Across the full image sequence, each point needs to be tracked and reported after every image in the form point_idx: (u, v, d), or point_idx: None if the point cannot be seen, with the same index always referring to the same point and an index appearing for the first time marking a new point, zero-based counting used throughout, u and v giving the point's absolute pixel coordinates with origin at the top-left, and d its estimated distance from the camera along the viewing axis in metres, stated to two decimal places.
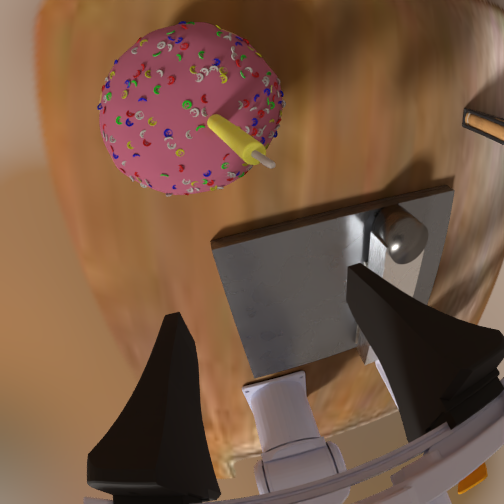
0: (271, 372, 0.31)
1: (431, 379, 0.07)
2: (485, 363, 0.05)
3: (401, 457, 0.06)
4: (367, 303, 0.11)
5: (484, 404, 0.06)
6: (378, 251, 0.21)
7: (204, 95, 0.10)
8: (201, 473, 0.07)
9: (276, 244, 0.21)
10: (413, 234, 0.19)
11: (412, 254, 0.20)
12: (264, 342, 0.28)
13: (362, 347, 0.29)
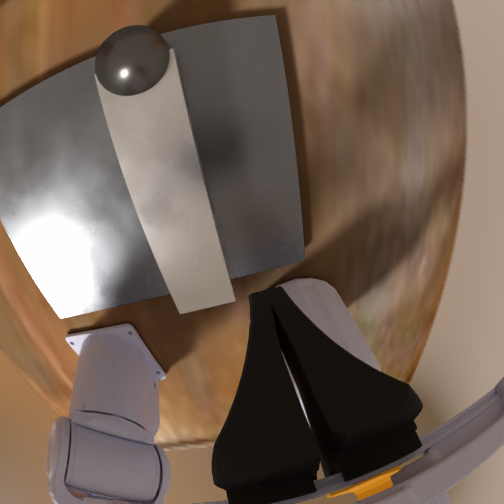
0: (75, 312, 0.22)
1: (321, 427, 0.07)
2: (371, 427, 0.05)
3: (401, 457, 0.06)
4: (280, 331, 0.10)
5: (389, 461, 0.06)
6: None
7: None
8: None
9: (10, 114, 0.12)
10: (129, 43, 0.10)
11: (142, 77, 0.11)
12: (41, 258, 0.18)
13: None
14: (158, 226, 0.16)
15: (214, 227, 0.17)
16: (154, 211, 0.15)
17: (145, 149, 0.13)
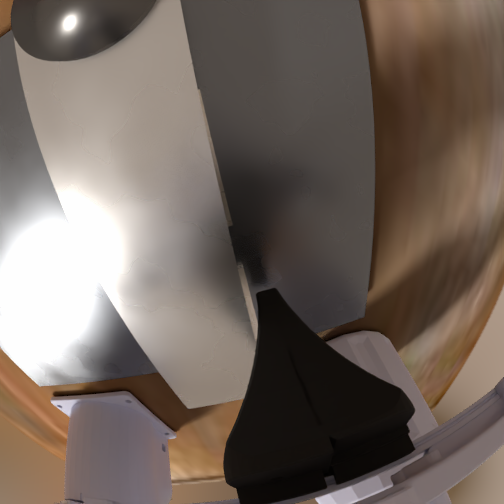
0: (55, 382, 0.15)
1: None
2: (361, 431, 0.05)
3: (401, 457, 0.06)
4: None
5: (381, 465, 0.06)
6: None
7: None
8: None
9: None
10: None
11: (100, 16, 0.04)
12: None
13: None
14: (145, 312, 0.09)
15: (246, 312, 0.09)
16: (136, 290, 0.08)
17: (108, 174, 0.06)
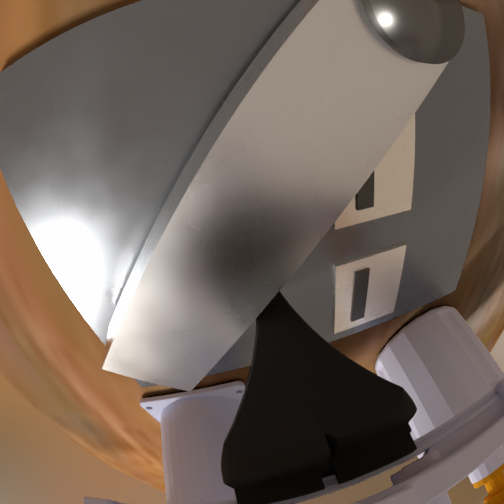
0: None
1: None
2: (364, 430, 0.05)
3: (401, 457, 0.06)
4: None
5: (383, 464, 0.06)
6: None
7: None
8: None
9: (77, 51, 0.06)
10: None
11: (417, 35, 0.05)
12: None
13: (116, 318, 0.10)
14: (194, 243, 0.08)
15: (267, 302, 0.09)
16: (214, 216, 0.07)
17: (313, 111, 0.06)
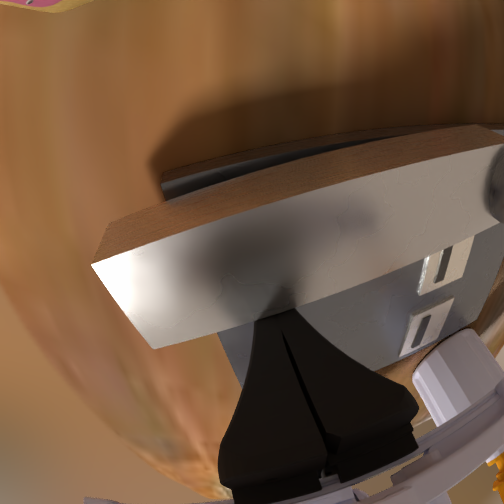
0: None
1: None
2: (366, 429, 0.05)
3: (401, 457, 0.06)
4: None
5: (385, 463, 0.06)
6: (486, 135, 0.08)
7: None
8: None
9: None
10: None
11: (503, 199, 0.09)
12: None
13: (153, 221, 0.08)
14: (336, 213, 0.08)
15: (315, 298, 0.10)
16: (365, 206, 0.08)
17: (446, 195, 0.08)
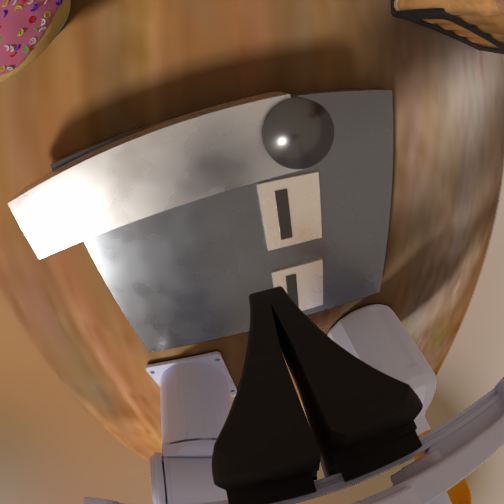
0: (168, 347, 0.25)
1: (321, 427, 0.07)
2: (371, 427, 0.05)
3: (401, 457, 0.06)
4: (280, 331, 0.10)
5: (389, 461, 0.06)
6: (264, 96, 0.13)
7: None
8: None
9: None
10: (317, 133, 0.13)
11: (281, 146, 0.13)
12: (142, 300, 0.21)
13: (38, 181, 0.13)
14: (110, 167, 0.13)
15: (118, 226, 0.14)
16: (128, 162, 0.13)
17: (201, 148, 0.13)
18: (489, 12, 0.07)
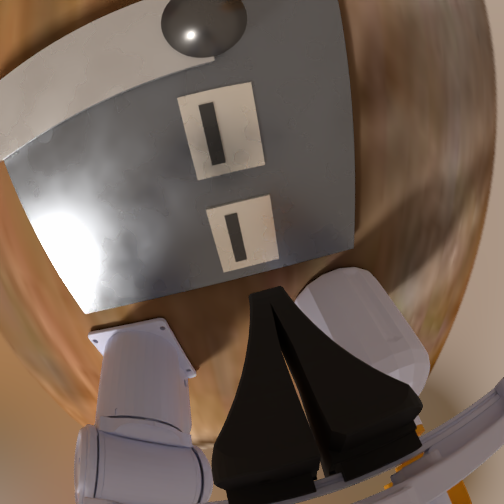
0: (103, 307, 0.21)
1: (321, 427, 0.07)
2: (371, 427, 0.05)
3: (401, 457, 0.06)
4: (279, 331, 0.10)
5: (389, 461, 0.06)
6: None
7: None
8: None
9: None
10: (224, 17, 0.09)
11: (181, 33, 0.09)
12: (67, 245, 0.17)
13: None
14: (19, 82, 0.09)
15: (23, 143, 0.10)
16: (33, 73, 0.09)
17: (99, 48, 0.09)
18: None
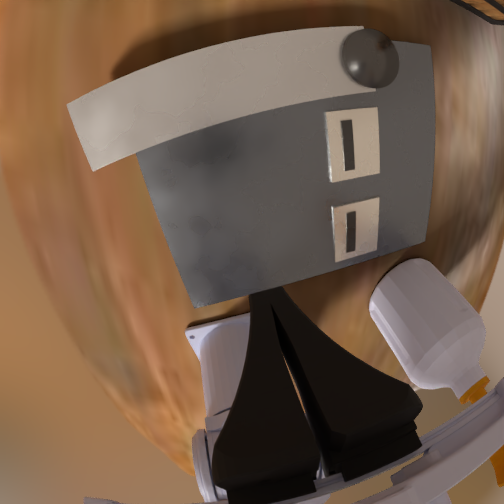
0: (216, 300, 0.24)
1: (321, 427, 0.07)
2: (371, 427, 0.05)
3: (401, 457, 0.06)
4: (280, 331, 0.10)
5: (389, 461, 0.06)
6: None
7: None
8: None
9: None
10: (386, 59, 0.12)
11: (359, 65, 0.12)
12: (196, 238, 0.20)
13: None
14: (200, 66, 0.12)
15: (198, 128, 0.13)
16: (219, 62, 0.12)
17: (291, 58, 0.12)
18: None
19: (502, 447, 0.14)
